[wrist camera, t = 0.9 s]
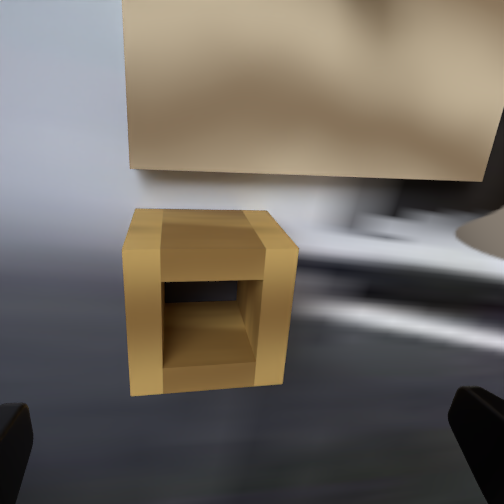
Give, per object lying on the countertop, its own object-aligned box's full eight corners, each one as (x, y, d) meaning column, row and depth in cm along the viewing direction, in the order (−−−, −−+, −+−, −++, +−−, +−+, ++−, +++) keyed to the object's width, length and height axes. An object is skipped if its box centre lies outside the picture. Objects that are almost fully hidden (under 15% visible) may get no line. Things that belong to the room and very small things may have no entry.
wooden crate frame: (257, 319, 20) (282, 383, 16) (140, 325, 19) (130, 396, 14) (266, 210, 18) (298, 248, 13) (135, 208, 17) (121, 249, 12)
